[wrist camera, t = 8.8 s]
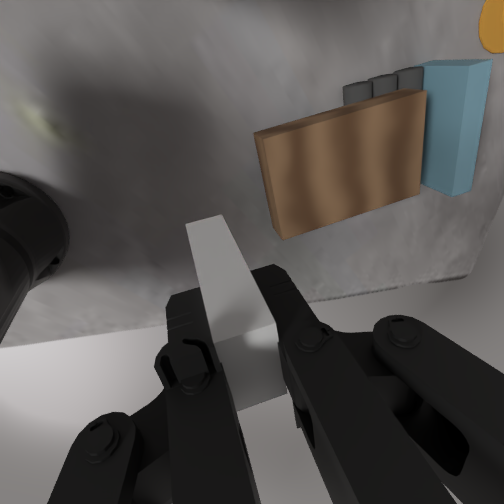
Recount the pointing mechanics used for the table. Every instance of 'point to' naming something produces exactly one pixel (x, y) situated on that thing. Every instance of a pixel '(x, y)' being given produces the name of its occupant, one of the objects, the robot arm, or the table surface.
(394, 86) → the roller mid
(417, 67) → the cylinder
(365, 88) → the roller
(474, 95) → the block
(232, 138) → the table surface
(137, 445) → the robot arm
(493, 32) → the cup
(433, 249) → the table surface
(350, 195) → the slab
